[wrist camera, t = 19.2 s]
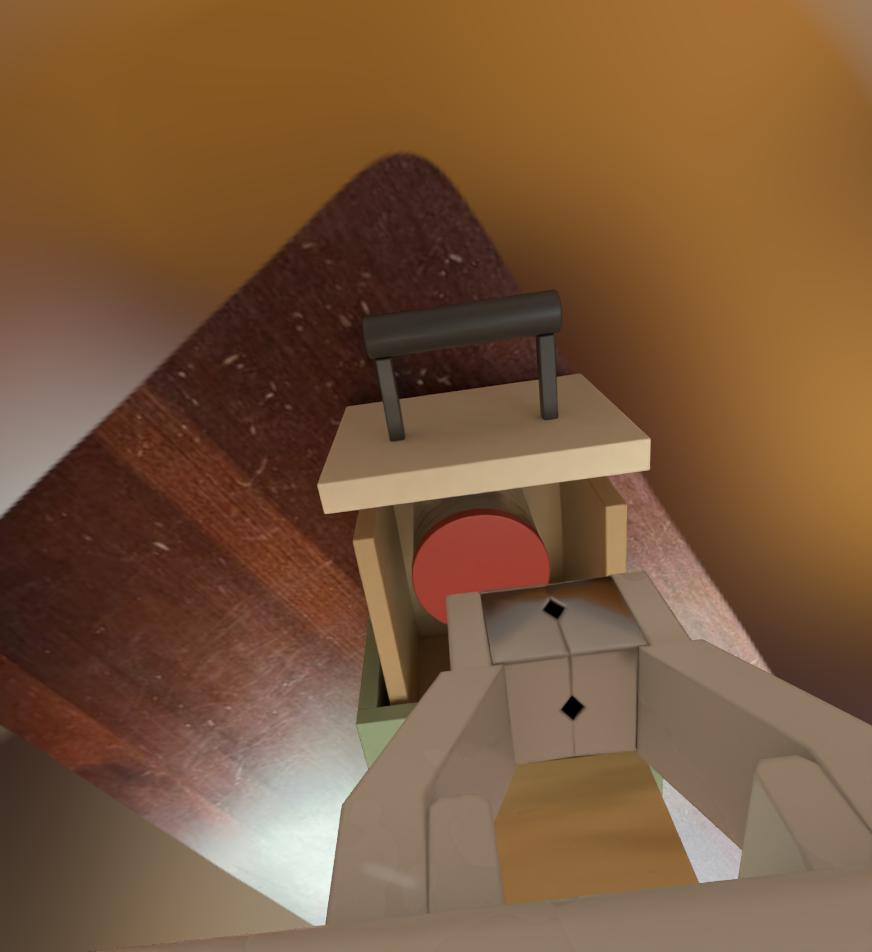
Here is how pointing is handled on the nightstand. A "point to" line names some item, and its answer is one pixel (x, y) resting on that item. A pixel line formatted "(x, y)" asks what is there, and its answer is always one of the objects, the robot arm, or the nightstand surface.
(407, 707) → the cabinet
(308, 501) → the nightstand surface
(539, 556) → the tin
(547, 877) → the riser
